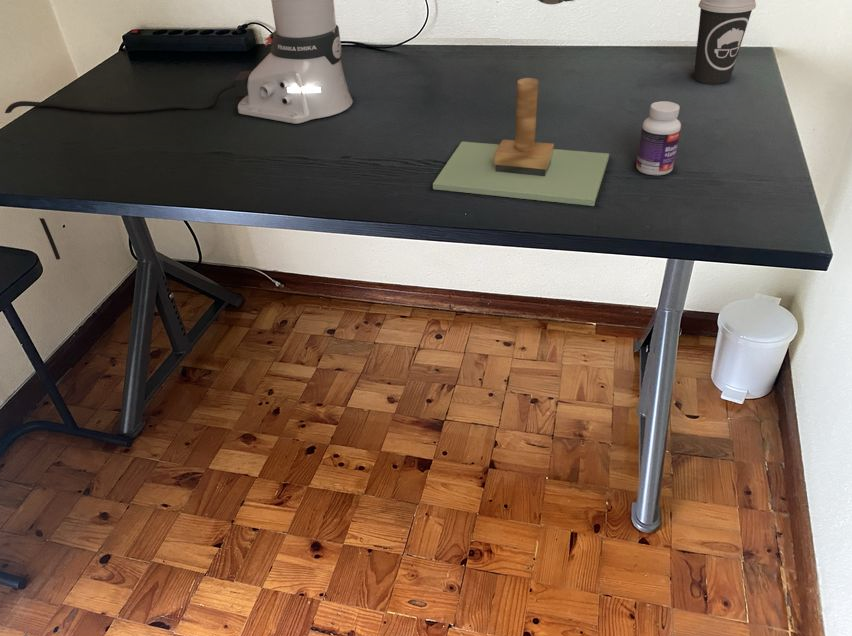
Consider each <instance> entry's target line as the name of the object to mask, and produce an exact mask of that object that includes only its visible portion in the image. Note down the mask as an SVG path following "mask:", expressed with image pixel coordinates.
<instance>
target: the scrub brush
mask: <svg viewBox="0 0 852 636" xmlns="http://www.w3.org/2000/svg"><path fill="white" fill-rule="evenodd" d="M539 83H540V82H539V80H538V79H537V78H534V77H523V78H520V79H518V80H517V83H516V101H515V103H516V104H515V105H516V106H515V125H514V126H515V127H514V140H513V139H502V140H501V141H500V143H499V144H498V145H499V146H498V148H497V149H496V151H495V155H494V164H495V165H496V171H497V172H507V173H517V174H526V175H536V176H545V175H546V173H547V171H548V169H549V167H550V165H551V159H552V157H553V152H554V149H555V143H549V142H539V141H538V142H537V141H536V133H537V132H536V131H537V130H536V129H537V116H538V115H537V114H538V113H537V112H538V101H539V100H538V98H539Z"/></svg>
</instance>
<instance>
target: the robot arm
mask: <svg viewBox="0 0 852 636" xmlns="http://www.w3.org/2000/svg"><path fill="white" fill-rule="evenodd" d="M537 1H538V2H539V3H542V4H544V5H558V4H561V3H563V2H566V3H567V2H575V0H537ZM271 9H272V15H273V21H274V27H275V30H274V31H273V32H271V33H270V34H269V35H268V37H267V38H264V41H266V42H265V44H264V46H268V45H270V50H269V51H270V52H269V53H268V54H267V55H266V56H265V58H263V59H262V61H260V63H258V64H257V65H256V67H254V68H253V70H245V71H244V70H243V71H240V72H239V73H238V74H237V76H236V77H234V79H233V81H231V82H229V83H226V84H224V85H222V86H220V87H219V88H218V89H217V90H216V91H215V92H214V94H213V96H212V98H211V100H210V101H209V102H207V103H204V104H203V103H202V104H191V103H181V102H180V103H165V104H156V105H148V106H147V105H145V106H133V107H104V106H103V107H102V106H90V105H81V104H71V103H64V102H63V103H62V102H54V101H30V100H29V101H28V100H21V101H16V102H13V103H11V104H9V105H8V106H7V108H6V109H5V111H4V113H5V114H10V113H12V111H14V110H15V109H16V108H18V107H19V108H21V107H33V108H58V109H65V110H71V111H81V112H90V113H105V114H106V113H107V114H127V113H128V114H129V113H146V112H154V111H164V110H175V109H177V110H178V109H179V110H181V109H182V110H207V109H211V108H213V107H214V106H215V105H216V104H217V102H218V100H219V97H220V96H221V95H222V94H223V93H225V92H226V91H228V90H231V89H234V88H235V93H236V96H237V97H243V98H242V99H241V100H240V101H239V103H238V104H237V113H238V114H240V115H244V116H251V117H255V118H262V119H266V120H273V121H278V122H283V123H289V124H297V125H298V124H303V123H306V122H308V121H311V120H316V119H317V120H318V119H321V118H327V117H332V116H334V115H337V114H341V113H343V112H345V111H347V110H348V109H350V107H351V106H352V105H353V102H354V100H353V98H352V95H351V93H350V90H349V87H348V84H347V81H346V78H345V77H346V76H345V72H344V68H343V64H342V57H343V56H342V41H341V35H340V27H339V26H338V24H337V20H336V10H335V2H334V0H271ZM45 219H46V218H42V217H39V222H40V224H41V225H42V228H43V230H44V233H45V235H46V237H47V240H48V243H49V245H50V247H51V250H52V253H53V254H54V257H55V259H56V260H57V261H58V260H60V259H61V256H60V254H59V251H58V248H57V245H56V244H55V241H54V238H53V236H52V234H51V231H50V228H49V226H48V225H47V222H46V220H45Z"/></svg>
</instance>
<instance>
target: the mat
mask: <svg viewBox="0 0 852 636" xmlns="http://www.w3.org/2000/svg"><path fill="white" fill-rule="evenodd" d="M499 145H500V144H499V143H497V144H496V143H484V142H474V141H472V142H471V141H461V142H460V143H459V144H458V146H457V147H456V149H455V151H454V152H453V153H452V155H451V156H450V158H449V159H448V161H447V162H446V164H445V165H444V167H443V168H442V169H441V171H440V172H439V173H438V175H437V177H436V178H435V180H434V181H433V182H432V190H434V191H435V190H437V191H445V192H453V193H454V192H455V193H465V194H475V195H484V196H493V197H503V198H511V199H512V198H513V199H521V200H522V199H524V200H531V201H540V202H551V203H561V204H569V205H580V206H587V207H588V206H589V207H594V206H595V204H596V202H597V201H596V200H597V198H598V194H599V191H600V188H601V184H602V182H603V179H604V175H605V172H606V170H607V166H608V163H609V160H610V153H609V152H608V153H607V152H594V151H582V150H570V149H559V148H558V149H557V148H554V152H553V157H552V159H551V165H550V167H549V169H548V171H547V173H546V175H545V176H536V175H526V174H517V173H507V172H497V171H496V165H495V164H494V155H495V151H496V149H497V148H498V146H499Z"/></svg>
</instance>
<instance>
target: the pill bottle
mask: <svg viewBox="0 0 852 636" xmlns="http://www.w3.org/2000/svg"><path fill="white" fill-rule="evenodd" d="M680 108H681V107H680V105H679V104H678V103H676V102H672V101H667V100H661V101H655V102H652V103H651V104H650V106H649V112H648V115H649V117H647V118H646V119H644V120H643V122H642V125H641V131H640V132H641V133H640V138H639V145H638V151H637V156H636V158H637V159H636V164H635V165H636V166H635V167H636V169H637V171H639V172H640V173H642V174H645V175H648V176H664V175H668V174H670V173H671V172H672V171H673V169H674V165H675V160H676V155H677V150H678V145H679V138H680V135H681V129H682V124H681V121H680V120H679V119H678V116H679V114H680Z"/></svg>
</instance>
